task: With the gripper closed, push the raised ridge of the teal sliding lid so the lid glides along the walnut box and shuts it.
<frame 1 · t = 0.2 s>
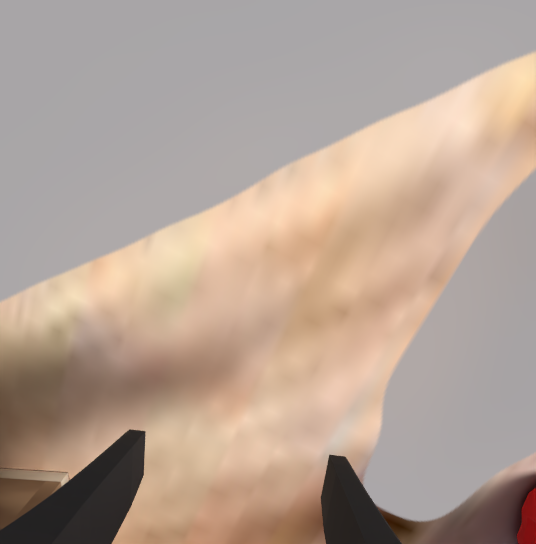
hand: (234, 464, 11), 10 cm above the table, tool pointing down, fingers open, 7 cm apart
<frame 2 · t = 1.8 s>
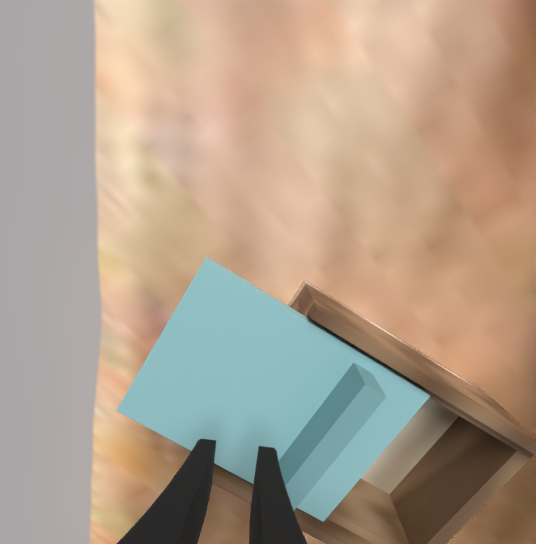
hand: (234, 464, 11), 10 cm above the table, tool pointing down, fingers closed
box: (349, 399, 22), on the table
lid: (269, 412, 15), point 6 cm above the table, slide at 7.0 cm
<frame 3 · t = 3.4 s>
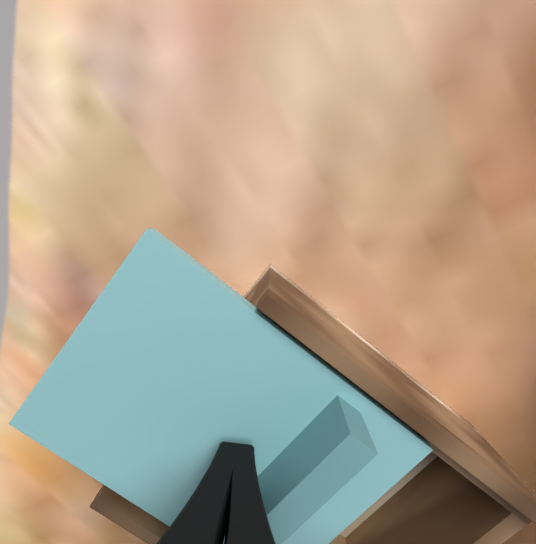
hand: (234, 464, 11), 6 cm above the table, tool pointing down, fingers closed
box: (309, 418, 18), on the table
lid: (215, 450, 11), point 6 cm above the table, slide at 5.7 cm, touching gripper
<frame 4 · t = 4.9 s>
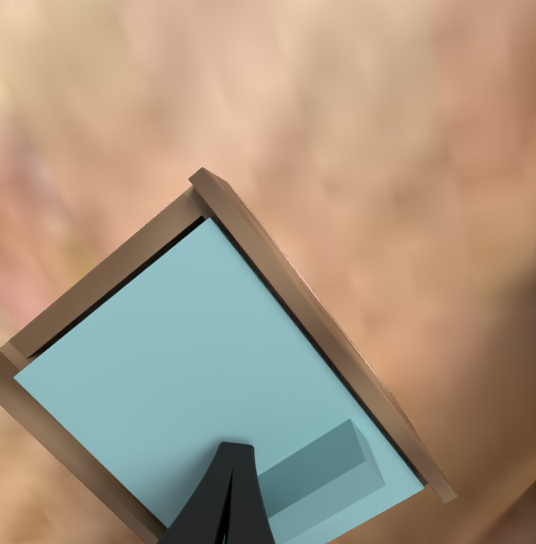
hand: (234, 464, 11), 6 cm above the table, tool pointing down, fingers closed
box: (237, 358, 17), on the table
lid: (221, 448, 11), point 6 cm above the table, slide at -0.3 cm, touching gripper
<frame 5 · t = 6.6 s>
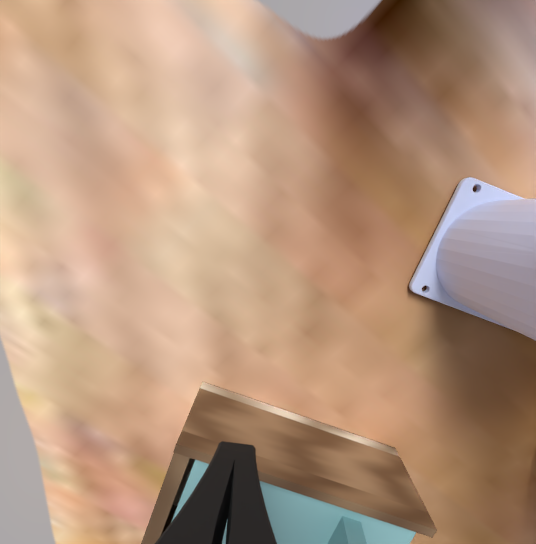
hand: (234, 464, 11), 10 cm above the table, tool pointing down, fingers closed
box: (273, 475, 24), on the table
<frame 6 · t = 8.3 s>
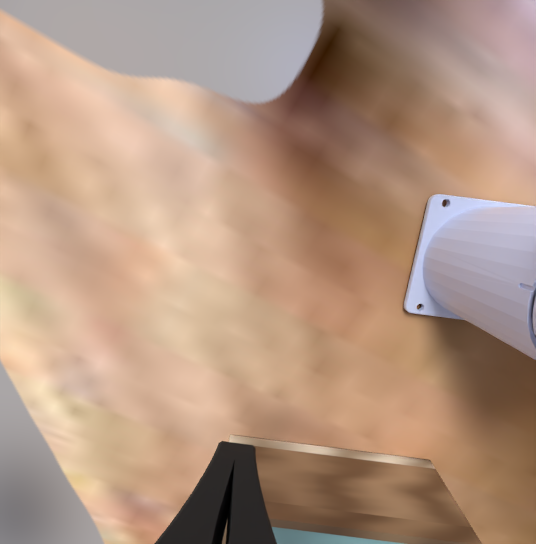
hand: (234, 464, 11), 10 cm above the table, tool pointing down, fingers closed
box: (317, 507, 24), on the table
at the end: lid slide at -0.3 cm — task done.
